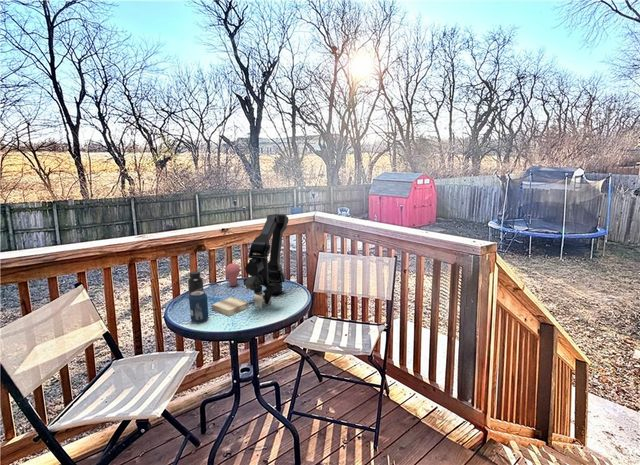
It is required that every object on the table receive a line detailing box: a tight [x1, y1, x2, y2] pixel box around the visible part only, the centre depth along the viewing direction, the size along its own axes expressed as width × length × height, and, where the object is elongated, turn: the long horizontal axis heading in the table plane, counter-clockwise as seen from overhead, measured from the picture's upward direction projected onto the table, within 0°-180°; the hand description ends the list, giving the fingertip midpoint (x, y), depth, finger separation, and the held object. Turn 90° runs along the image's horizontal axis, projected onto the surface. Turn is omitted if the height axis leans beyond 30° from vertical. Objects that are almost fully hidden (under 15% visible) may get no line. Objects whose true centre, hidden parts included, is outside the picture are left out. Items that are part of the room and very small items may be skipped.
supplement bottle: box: [187, 270, 205, 298], centre depth 179 cm, size 7×7×12 cm
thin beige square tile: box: [211, 296, 250, 317], centre depth 165 cm, size 11×11×2 cm
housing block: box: [253, 289, 273, 310], centre depth 168 cm, size 6×5×6 cm
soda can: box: [188, 290, 210, 324], centre depth 153 cm, size 7×7×12 cm
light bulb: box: [224, 262, 241, 287], centre depth 193 cm, size 7×7×12 cm
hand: (263, 302), depth 168 cm, fingers closed on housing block, 5 cm apart
